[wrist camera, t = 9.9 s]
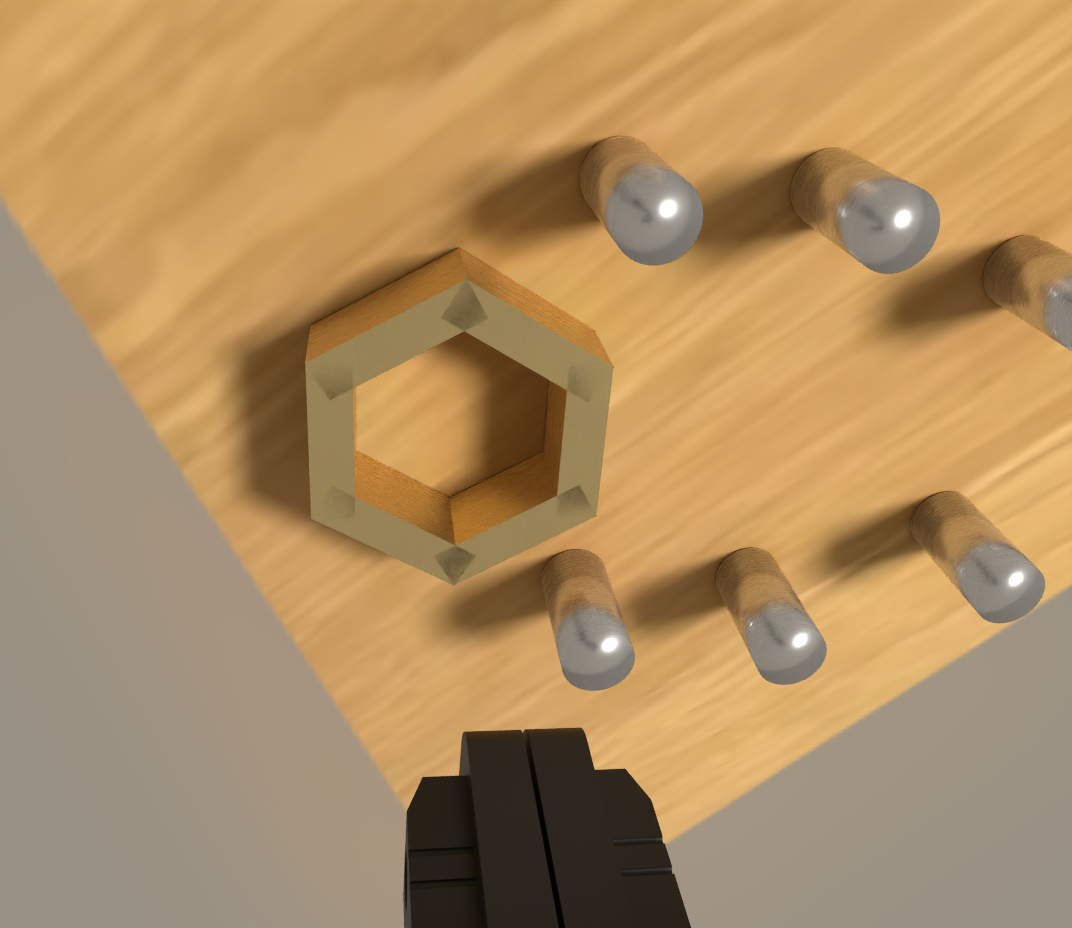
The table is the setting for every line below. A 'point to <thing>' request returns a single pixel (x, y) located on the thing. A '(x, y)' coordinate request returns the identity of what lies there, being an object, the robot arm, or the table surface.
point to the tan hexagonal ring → (497, 503)
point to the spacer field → (883, 246)
